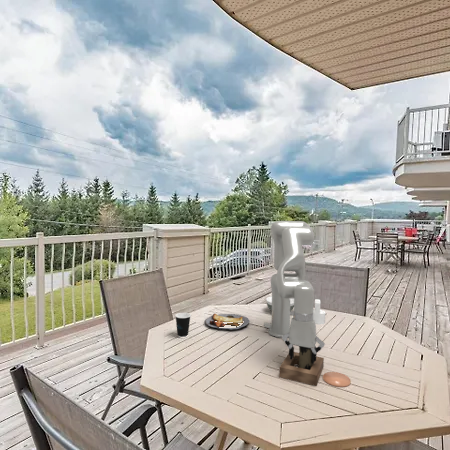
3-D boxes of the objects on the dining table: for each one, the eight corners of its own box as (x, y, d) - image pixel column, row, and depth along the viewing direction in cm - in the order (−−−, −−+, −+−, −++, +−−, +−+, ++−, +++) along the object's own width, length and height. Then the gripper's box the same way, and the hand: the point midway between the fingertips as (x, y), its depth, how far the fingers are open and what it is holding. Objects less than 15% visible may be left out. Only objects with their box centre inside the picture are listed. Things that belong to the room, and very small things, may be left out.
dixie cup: (190, 333, 166) (191, 312, 166) (190, 339, 158) (190, 317, 158) (175, 333, 165) (175, 312, 165) (174, 339, 157) (174, 317, 157)
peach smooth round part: (320, 383, 119) (320, 381, 119) (324, 371, 128) (324, 369, 128) (349, 389, 115) (349, 388, 115) (351, 377, 124) (351, 375, 124)
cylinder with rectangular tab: (325, 325, 181) (325, 304, 181) (308, 323, 184) (309, 302, 183) (325, 320, 190) (325, 300, 189) (309, 318, 192) (309, 298, 192)
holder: (279, 377, 123) (279, 367, 123) (289, 360, 137) (289, 351, 137) (316, 386, 117) (316, 375, 116) (323, 367, 131) (323, 357, 131)
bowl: (277, 318, 191) (277, 305, 190) (259, 310, 207) (260, 297, 207) (301, 314, 199) (301, 301, 199) (283, 306, 216) (283, 294, 216)
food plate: (198, 328, 173) (198, 322, 173) (212, 315, 196) (212, 310, 196) (243, 334, 166) (243, 327, 166) (252, 320, 188) (253, 314, 188)
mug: (311, 369, 129) (311, 340, 129) (313, 376, 124) (314, 345, 123) (291, 368, 130) (291, 339, 129) (292, 375, 124) (293, 344, 124)
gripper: (279, 315, 126) (278, 359, 127) (324, 322, 119) (323, 369, 119) (284, 310, 133) (283, 352, 134) (327, 316, 126) (326, 360, 126)
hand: (302, 359), depth 127 cm, fingers closed on mug, 7 cm apart
